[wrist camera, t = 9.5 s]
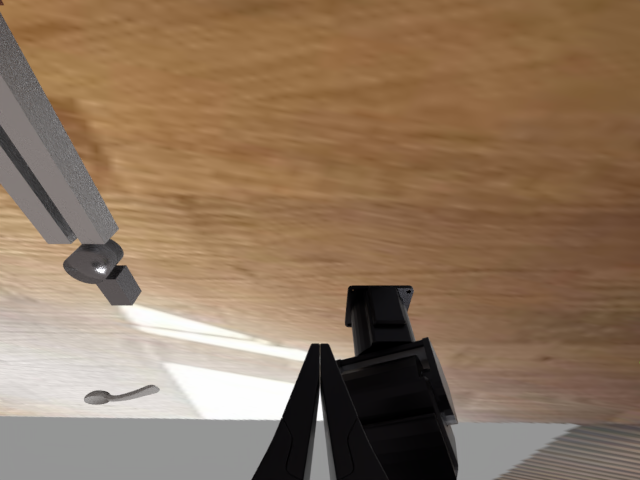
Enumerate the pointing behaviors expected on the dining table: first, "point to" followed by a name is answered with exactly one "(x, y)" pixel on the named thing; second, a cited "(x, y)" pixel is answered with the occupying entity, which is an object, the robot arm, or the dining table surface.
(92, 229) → the tong arm
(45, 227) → the tongs fixed
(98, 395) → the spoon
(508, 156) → the dining table surface
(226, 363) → the dining table surface
